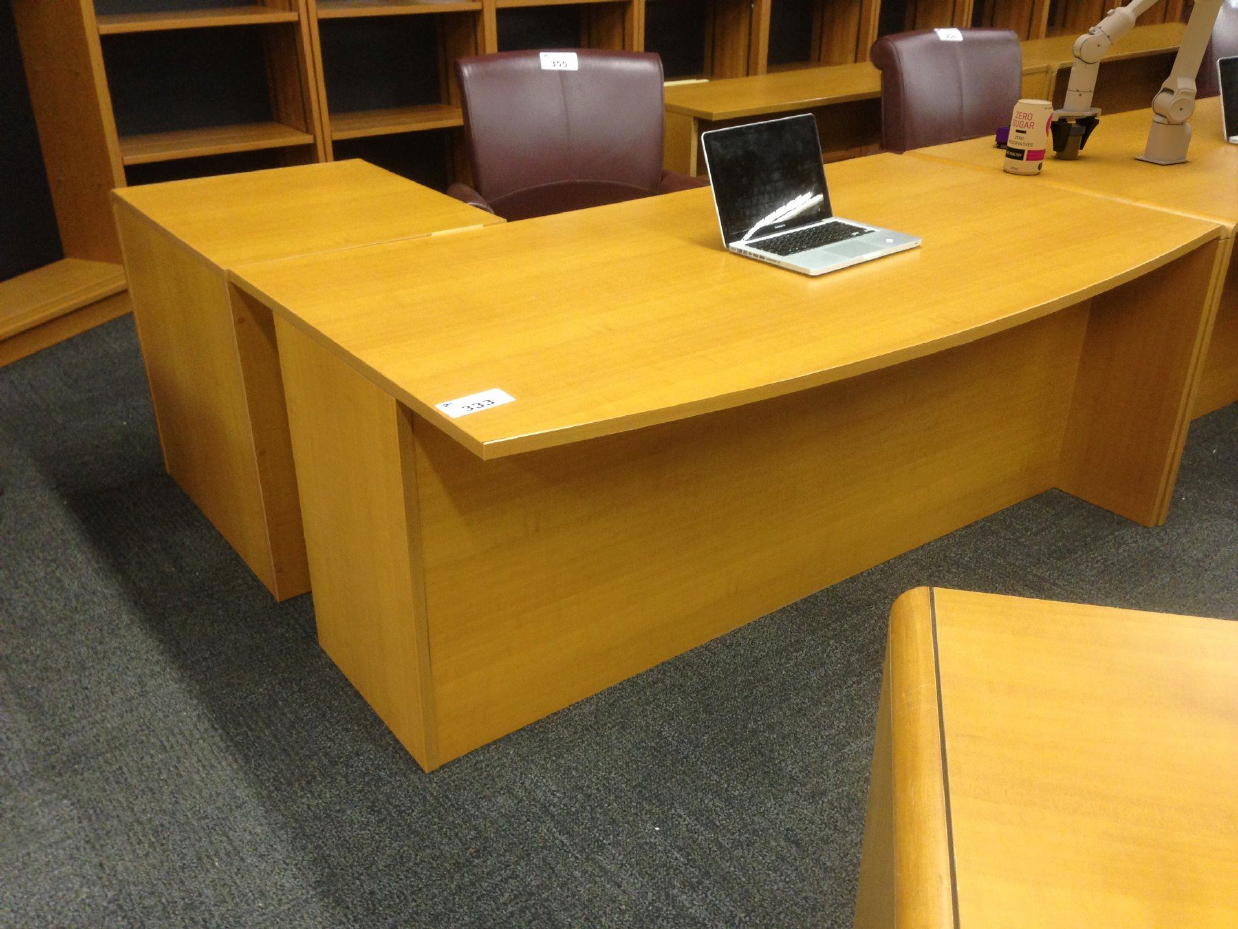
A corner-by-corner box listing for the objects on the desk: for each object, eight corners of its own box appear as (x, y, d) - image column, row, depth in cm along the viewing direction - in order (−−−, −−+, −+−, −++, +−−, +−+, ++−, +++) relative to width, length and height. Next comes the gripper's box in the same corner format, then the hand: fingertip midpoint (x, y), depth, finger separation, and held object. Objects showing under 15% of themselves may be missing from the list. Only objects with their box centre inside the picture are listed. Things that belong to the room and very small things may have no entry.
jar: (1064, 154, 253) (1070, 124, 249) (1081, 158, 249) (1088, 128, 246) (1050, 156, 250) (1056, 126, 247) (1067, 160, 247) (1074, 129, 243)
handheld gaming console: (1047, 127, 265) (1036, 129, 253) (1042, 149, 267) (1031, 151, 255) (1009, 123, 269) (997, 125, 257) (1005, 144, 271) (992, 147, 259)
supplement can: (1040, 169, 238) (1054, 99, 231) (1040, 176, 231) (1055, 105, 224) (1002, 166, 240) (1015, 97, 233) (1002, 173, 233) (1015, 102, 226)
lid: (1053, 130, 249) (1055, 122, 248) (1075, 129, 250) (1077, 122, 249) (1067, 134, 244) (1069, 127, 243) (1089, 134, 245) (1090, 126, 244)
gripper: (1071, 94, 236) (1058, 155, 243) (1116, 90, 242) (1103, 151, 248) (1047, 89, 242) (1035, 150, 248) (1092, 86, 248) (1079, 145, 254)
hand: (1067, 150), depth 249 cm, fingers open, 6 cm apart
